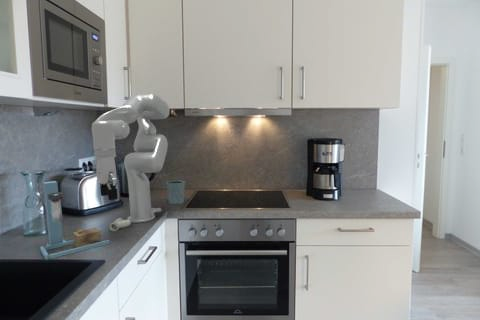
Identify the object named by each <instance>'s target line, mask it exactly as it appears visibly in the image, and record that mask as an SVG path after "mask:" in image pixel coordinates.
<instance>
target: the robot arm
mask: <svg viewBox="0 0 480 320" xmlns="http://www.w3.org/2000/svg"><path fill="white" fill-rule="evenodd" d="M169 115H170V107H169V105H168V103H167V102H166V101H165V100H164V99H163V98H161V97H160V96H159V95H157V94H155V93H136V94H133V95H130V97H129V98H128V99H127V100H126V101H125V102H124V103H123V104H122V105H121V106H119V107H116V108H115V109H111V110H110V111H107V112H105V113H102V115H100V116H98V118H97V119H96V120H94V121H93V122H92V123H91V134H92V141H93V142H92V143H93V152H94V159H96V160H95V161H96V162H95V165H96V167H95V168H96V181H97V183H99V187H100V195H101V197H103V196H104V197H105V196H108V197H107V198H108V200H109V201H114V200H118V198H119V197H118V186H117V180H118V178H117V176H118V175H117V169H116V161H115V158H116V157H117V154H116V153H117V152H116V142H115V141H116V140H122V139H126V138H127V137H128V136H129V134H130V131H131V130H130V126H129V125H130V124H133V123H135V122H136V121H137V124H138V129H137V130H138V131H137V133H136V137H135V139H134V142H133V150H134V152H131V153H128V154H126V155H125V157H124V160H123V163H124V168H125V172H126V177H127V187H128V199H129V213H130V216H128V217H127V218H126V220H127V219H128V220H129V221H130V222H131V223H145V222H150V221H152V220H154V219H156V215H155V214H156V213H161V212H162V208H161V207H158V208H156V207H152V201H151V190H150V189H151V188H150V187H151V185H150V184H151V183H150V180H149V177H147V174H149V173H153V174H154V173H159V172H160V171H162V169H163V167H164V163H165V161H166V160H165V159H166V156H167V152H168V146H169V144H168V139H167V137H166V136H165V135H164V134H160V133H157V128H156V127H155V124H154V123H152V122H151V120H165V119H167V118H168V117H169Z"/></svg>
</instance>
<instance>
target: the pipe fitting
mask: <svg viewBox="0 0 480 320" xmlns="http://www.w3.org/2000/svg"><path fill="white" fill-rule="evenodd" d="M131 224H132V222H130V221H129V220H128V219H127V218H126V219H123V218H121V217H118V218H116V219H115V220H114V221H113V222H112V223H110V224H109V231H111V232H116V231H118V230H121V229H124V228H129V227H130V225H131Z"/></svg>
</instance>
